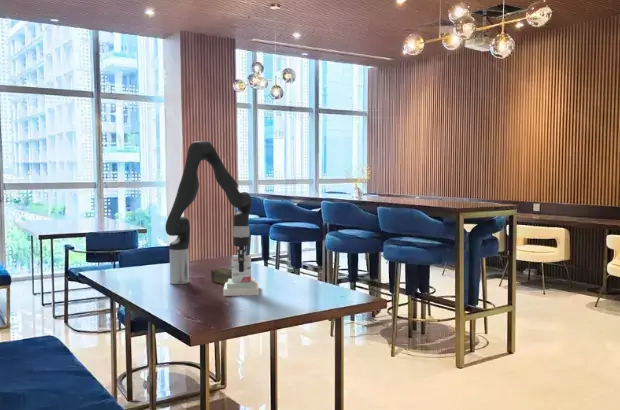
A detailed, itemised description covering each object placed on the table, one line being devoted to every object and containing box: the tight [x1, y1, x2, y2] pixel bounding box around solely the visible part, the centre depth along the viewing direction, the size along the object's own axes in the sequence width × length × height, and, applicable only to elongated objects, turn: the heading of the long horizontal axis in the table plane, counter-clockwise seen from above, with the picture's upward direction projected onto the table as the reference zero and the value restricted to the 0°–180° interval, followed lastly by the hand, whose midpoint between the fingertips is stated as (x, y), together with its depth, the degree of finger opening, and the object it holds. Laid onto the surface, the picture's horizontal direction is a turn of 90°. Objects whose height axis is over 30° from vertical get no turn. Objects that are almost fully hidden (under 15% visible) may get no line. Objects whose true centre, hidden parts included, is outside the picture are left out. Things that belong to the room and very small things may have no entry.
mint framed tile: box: [222, 277, 260, 297], centre depth 260 cm, size 16×16×5 cm
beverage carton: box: [210, 267, 232, 286], centre depth 281 cm, size 8×19×7 cm, turn 43°
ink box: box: [231, 254, 252, 282], centre depth 260 cm, size 9×5×12 cm, turn 87°
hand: (241, 270), depth 260 cm, fingers open, 8 cm apart
